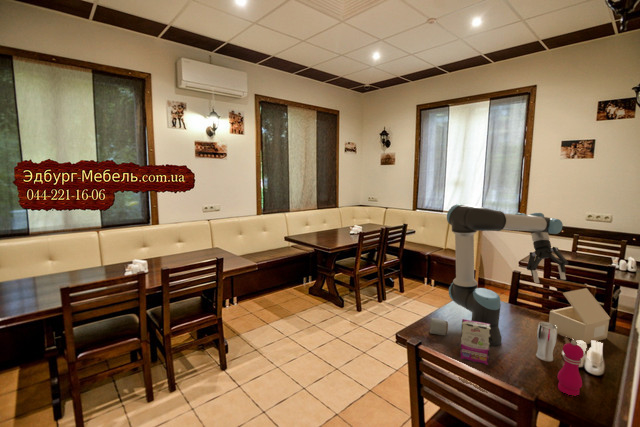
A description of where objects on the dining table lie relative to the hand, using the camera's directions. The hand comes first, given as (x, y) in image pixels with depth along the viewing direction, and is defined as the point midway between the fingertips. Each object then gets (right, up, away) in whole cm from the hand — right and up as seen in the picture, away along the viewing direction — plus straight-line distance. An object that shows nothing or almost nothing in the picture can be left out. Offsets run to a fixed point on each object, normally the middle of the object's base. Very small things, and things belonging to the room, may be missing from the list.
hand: (549, 281), depth 159 cm
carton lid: (+13, -11, -6) cm, 18 cm away
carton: (+12, -26, -2) cm, 29 cm away
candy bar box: (-51, -29, -24) cm, 63 cm away
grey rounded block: (-58, -26, -1) cm, 63 cm away
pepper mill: (-25, -32, -43) cm, 59 cm away
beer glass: (-19, -29, -22) cm, 41 cm away
